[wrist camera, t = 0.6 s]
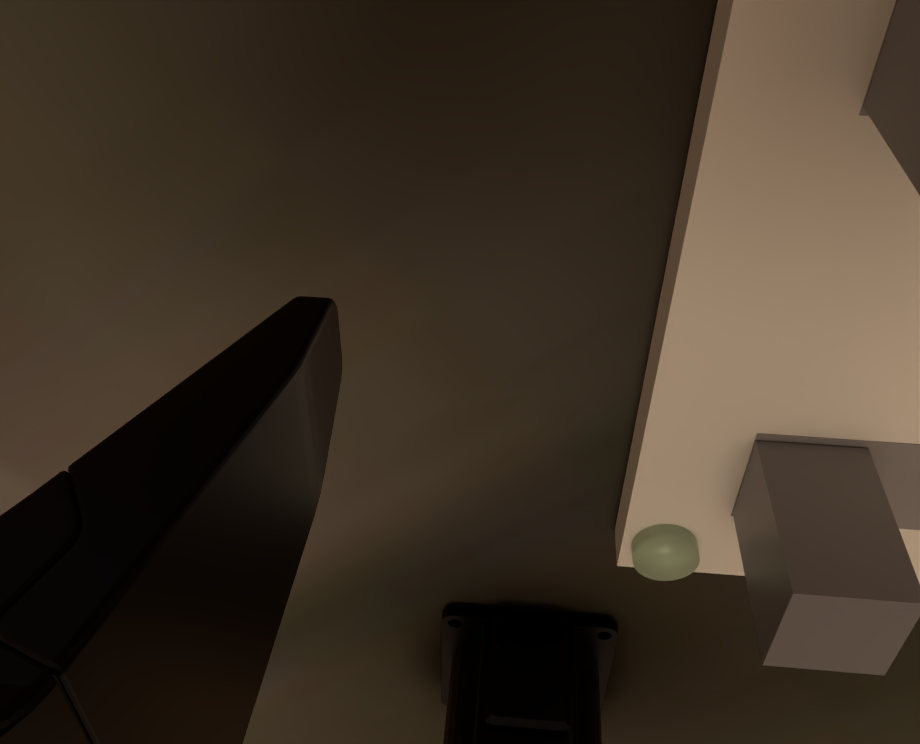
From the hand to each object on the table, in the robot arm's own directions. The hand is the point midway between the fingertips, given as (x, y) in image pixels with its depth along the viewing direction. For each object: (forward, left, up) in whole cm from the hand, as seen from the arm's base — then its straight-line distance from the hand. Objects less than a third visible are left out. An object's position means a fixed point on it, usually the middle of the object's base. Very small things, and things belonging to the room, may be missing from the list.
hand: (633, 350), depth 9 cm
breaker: (-12, -7, -10) cm, 18 cm away
